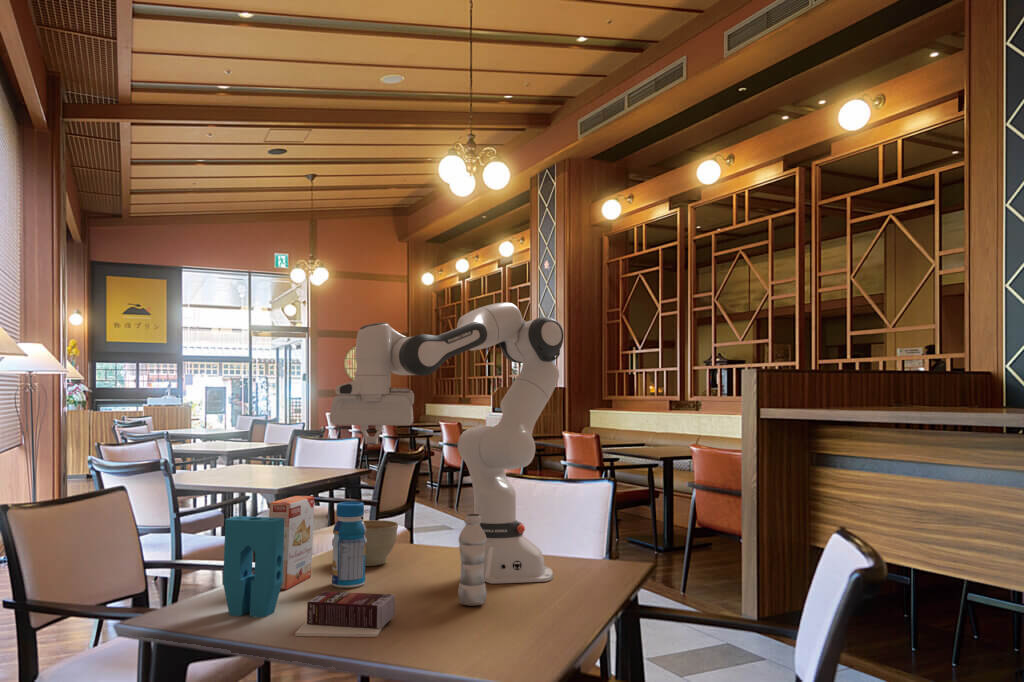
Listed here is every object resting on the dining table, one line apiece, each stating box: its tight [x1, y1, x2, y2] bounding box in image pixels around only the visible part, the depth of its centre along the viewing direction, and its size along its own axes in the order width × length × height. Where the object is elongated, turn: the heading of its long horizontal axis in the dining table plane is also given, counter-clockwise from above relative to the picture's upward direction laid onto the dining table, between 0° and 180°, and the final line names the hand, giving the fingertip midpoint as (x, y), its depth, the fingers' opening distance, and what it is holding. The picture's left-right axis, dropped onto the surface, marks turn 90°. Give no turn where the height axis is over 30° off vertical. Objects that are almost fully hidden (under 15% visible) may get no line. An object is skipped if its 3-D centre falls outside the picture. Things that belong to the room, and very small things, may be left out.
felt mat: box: [294, 620, 384, 638], centre depth 150 cm, size 16×14×1 cm
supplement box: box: [306, 590, 396, 629], centre depth 151 cm, size 9×5×16 cm
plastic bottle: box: [457, 513, 488, 607], centre depth 166 cm, size 6×7×20 cm
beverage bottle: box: [331, 501, 367, 589], centre depth 184 cm, size 8×8×20 cm
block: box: [222, 515, 285, 618], centre depth 159 cm, size 12×5×20 cm, turn 79°
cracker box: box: [268, 495, 315, 591], centre depth 185 cm, size 14×6×21 cm, turn 170°
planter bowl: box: [363, 519, 399, 567], centre depth 207 cm, size 16×16×11 cm
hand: (371, 444), depth 181 cm, fingers closed
